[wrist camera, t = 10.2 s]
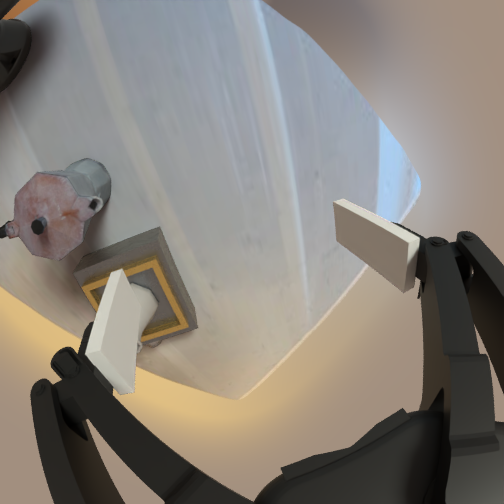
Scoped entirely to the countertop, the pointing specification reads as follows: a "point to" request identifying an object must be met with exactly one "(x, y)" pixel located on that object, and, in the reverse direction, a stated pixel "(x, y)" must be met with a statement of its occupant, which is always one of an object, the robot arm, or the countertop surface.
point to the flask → (144, 309)
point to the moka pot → (58, 208)
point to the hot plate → (142, 282)
